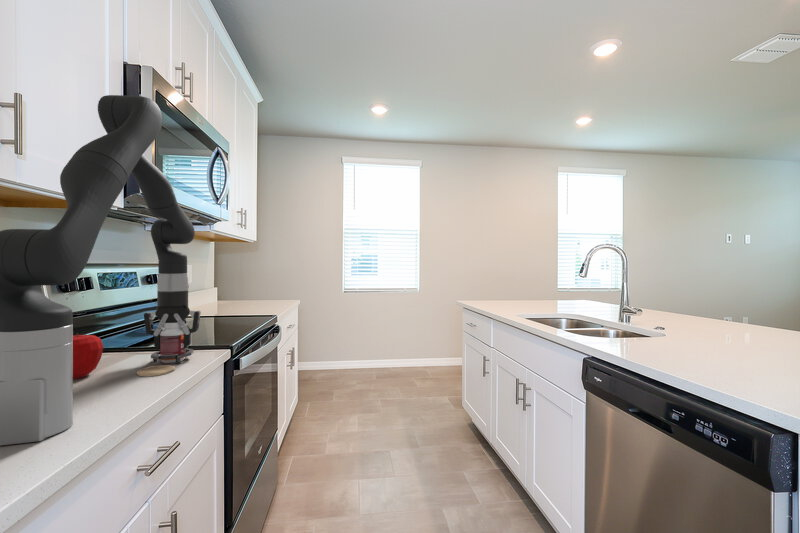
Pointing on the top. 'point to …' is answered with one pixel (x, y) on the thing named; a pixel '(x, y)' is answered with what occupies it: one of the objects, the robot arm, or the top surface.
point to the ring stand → (172, 356)
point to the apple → (86, 354)
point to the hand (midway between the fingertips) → (173, 347)
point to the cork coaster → (156, 370)
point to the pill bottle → (172, 341)
